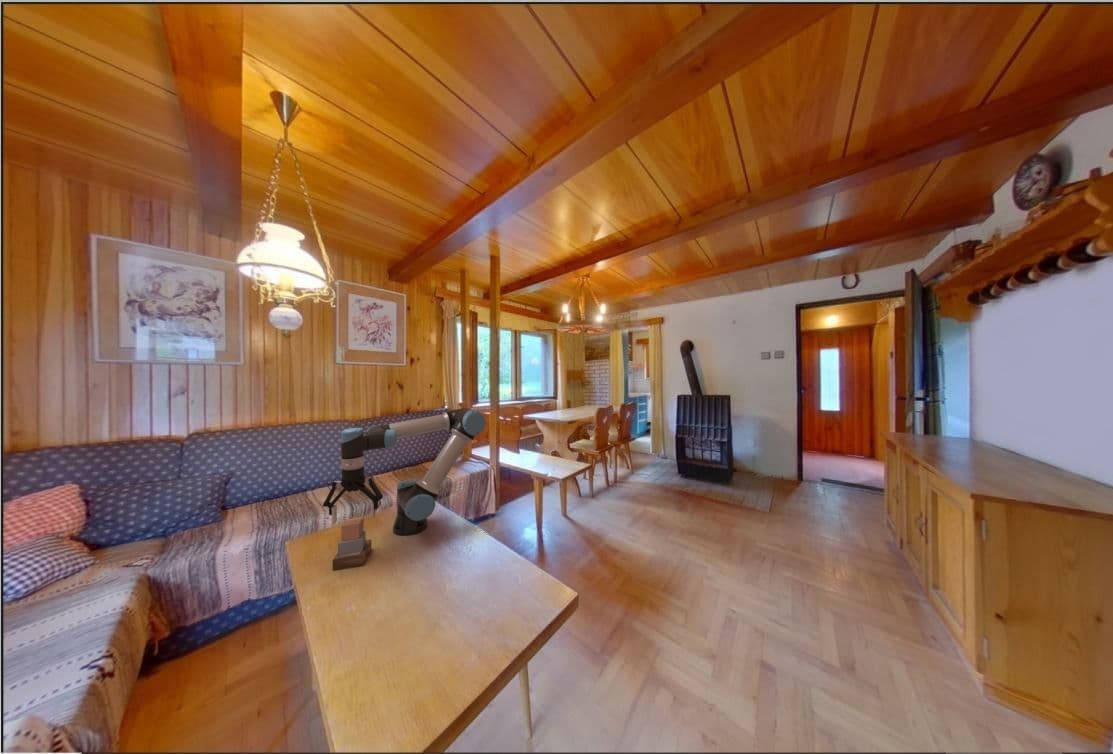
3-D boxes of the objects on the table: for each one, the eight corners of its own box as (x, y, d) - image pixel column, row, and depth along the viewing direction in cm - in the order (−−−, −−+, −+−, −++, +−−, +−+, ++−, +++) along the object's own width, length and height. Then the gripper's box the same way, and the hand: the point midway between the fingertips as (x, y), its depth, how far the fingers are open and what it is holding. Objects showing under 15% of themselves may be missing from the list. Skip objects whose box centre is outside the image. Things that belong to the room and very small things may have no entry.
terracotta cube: (346, 533, 125) (346, 519, 125) (363, 531, 127) (363, 517, 127) (341, 541, 120) (341, 526, 120) (358, 539, 121) (358, 523, 121)
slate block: (342, 545, 125) (342, 533, 125) (365, 541, 129) (365, 529, 128) (337, 556, 118) (337, 543, 118) (362, 551, 121) (362, 539, 121)
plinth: (344, 552, 128) (344, 542, 128) (371, 548, 131) (371, 539, 131) (332, 570, 116) (332, 559, 116) (362, 565, 119) (362, 555, 119)
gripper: (311, 473, 116) (313, 529, 116) (385, 467, 123) (386, 519, 124) (320, 467, 123) (321, 520, 123) (389, 461, 130) (391, 511, 131)
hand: (354, 520), depth 124 cm, fingers open, 13 cm apart
